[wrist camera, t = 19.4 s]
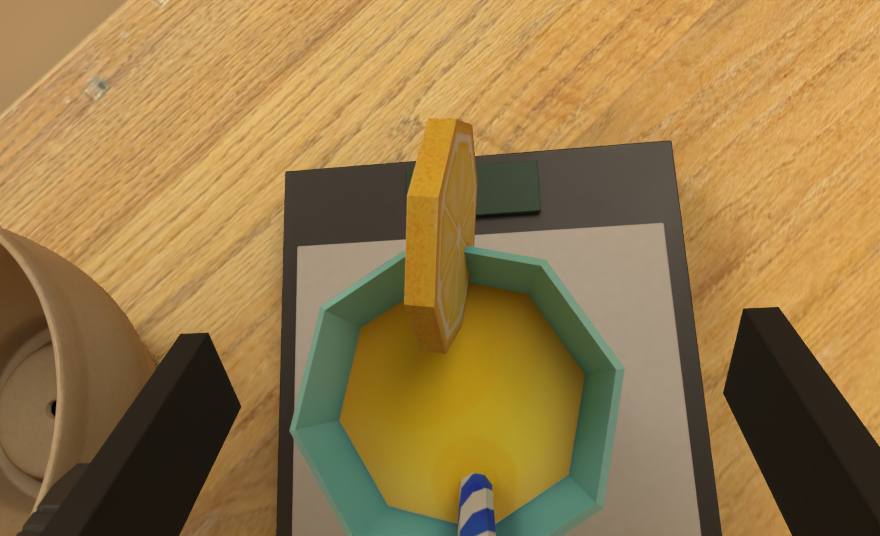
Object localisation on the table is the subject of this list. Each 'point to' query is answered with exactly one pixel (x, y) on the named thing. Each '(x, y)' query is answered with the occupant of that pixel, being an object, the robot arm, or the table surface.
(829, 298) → the table surface
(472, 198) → the cup
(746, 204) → the table surface
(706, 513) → the scale
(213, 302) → the table surface
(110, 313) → the planter bowl
